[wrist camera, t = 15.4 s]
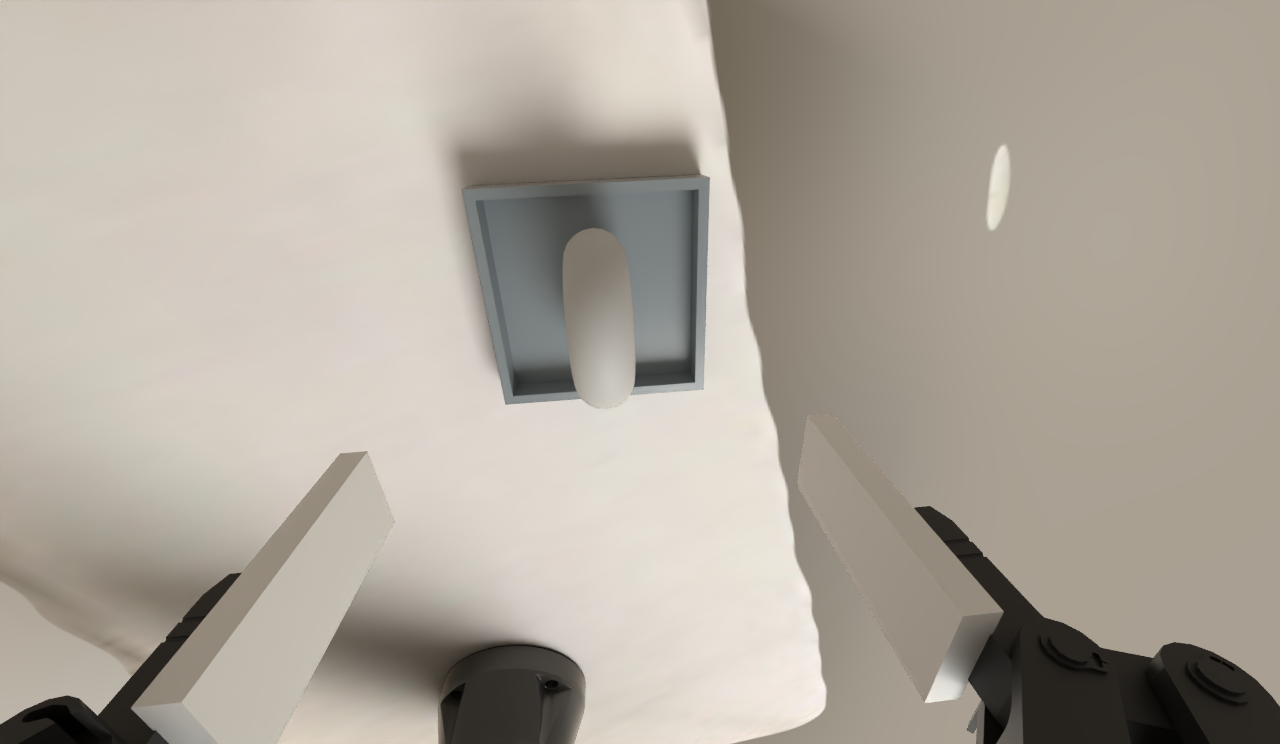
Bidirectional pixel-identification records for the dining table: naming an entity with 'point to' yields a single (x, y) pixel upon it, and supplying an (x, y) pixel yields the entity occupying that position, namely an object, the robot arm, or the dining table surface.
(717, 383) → the dining table surface
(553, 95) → the dining table surface
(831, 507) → the robot arm
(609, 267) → the donut
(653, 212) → the tray
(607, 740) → the dining table surface
